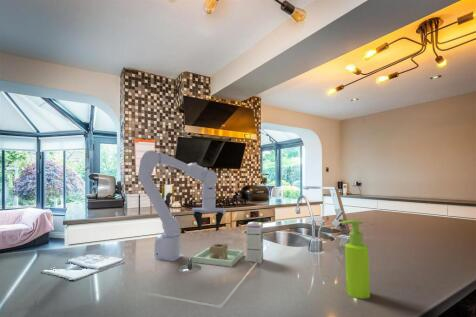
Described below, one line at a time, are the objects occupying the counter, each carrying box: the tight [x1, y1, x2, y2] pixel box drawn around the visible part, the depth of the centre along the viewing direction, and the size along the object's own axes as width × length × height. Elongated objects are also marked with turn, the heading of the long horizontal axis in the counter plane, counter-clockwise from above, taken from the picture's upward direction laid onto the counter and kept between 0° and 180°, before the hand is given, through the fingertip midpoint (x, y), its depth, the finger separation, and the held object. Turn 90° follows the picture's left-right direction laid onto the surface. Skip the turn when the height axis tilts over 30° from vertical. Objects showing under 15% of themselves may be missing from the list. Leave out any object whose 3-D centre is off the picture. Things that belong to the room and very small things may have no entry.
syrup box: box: [245, 221, 264, 264], centre depth 98 cm, size 6×6×14 cm
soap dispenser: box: [340, 219, 371, 300], centre depth 70 cm, size 6×7×20 cm
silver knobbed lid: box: [177, 257, 202, 274], centre depth 88 cm, size 8×8×4 cm
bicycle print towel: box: [42, 253, 125, 281], centre depth 91 cm, size 19×20×2 cm
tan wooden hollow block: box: [209, 243, 229, 260], centre depth 98 cm, size 7×5×5 cm
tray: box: [192, 247, 244, 268], centre depth 98 cm, size 16×14×2 cm
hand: (208, 230), depth 107 cm, fingers open, 7 cm apart
